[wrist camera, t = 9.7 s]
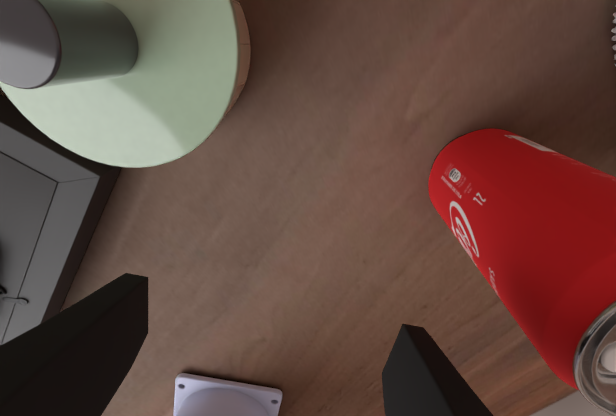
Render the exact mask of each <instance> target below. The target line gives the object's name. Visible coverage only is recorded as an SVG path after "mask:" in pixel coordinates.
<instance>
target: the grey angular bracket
mask: <svg viewBox="0 0 616 416" xmlns="http://www.w3.org/2000/svg"><path fill="white" fill-rule="evenodd" d="M615 6H616V5H615ZM613 16H614V17H615V19H614V20H613V23H616V12H615V13H614V14H613ZM611 31H612V32H613V33H616V27H615V28H613V29H612V30H611ZM612 40H613V41H616V35H614V36H613V37H612ZM612 47H613V50H616V44H615V45H614V46H612ZM614 60H616V54H615V57H614ZM615 67H616V64H615Z"/></svg>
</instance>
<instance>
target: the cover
mask: <svg viewBox="0 0 616 416" xmlns="http://www.w3.org/2000/svg"><path fill="white" fill-rule="evenodd" d="M240 55H241V48H240V34H239V27H238V22H237V16H236V11H235V8H234V5H233V2H232V0H0V87H1V89H2V90H3V91H4V93H5V94H6V95H7V97H8V98H9V99H10V101H11V102H12V103H13V104H14V105H15V106H16V108H17V109H18V110H19V111H20V112H21V113H22V114H23V115H24V116H25V117H26V118H27V119H28V120H29V121H30V122H31V123H32V124H33V125H34V126H35V127H36V128H38V129H39V130H40V131H41V132H43V133H44V134H45V135H47V136H48V137H49V138H50V139H52V140H54V141H55V142H57V143H58V144H60V145H61V146H63V147H65V148H66V149H68V150H70V151H72V152H74V153H76V154H78V155H80V156H83V157H85V158H88V159H91V160H93V161H96V162H100V163H104V164H108V165H112V166H119V167H126V168H143V167H152V166H158V165H162V164H165V163H169V162H172V161H174V160H176V159H179V158H181V157H183V156H185V155H186V154H188V153H190V152H191V151H193V150H194V149H196V148H197V147H198V146H199V145H201V144H202V143H203V142H204V141H205V140H207V139H208V138H209V137H210V135H211V134H212V133H213V132H214V131H215V130H216V129H217V128H218V126H219V125H220V123H221V121H222V120H223V118H224V117H225V115H226V113H227V111H228V109H229V107H230V105H231V102H232V100H233V97H234V94H235V90H236V87H237V82H238V77H239V71H240Z"/></svg>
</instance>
